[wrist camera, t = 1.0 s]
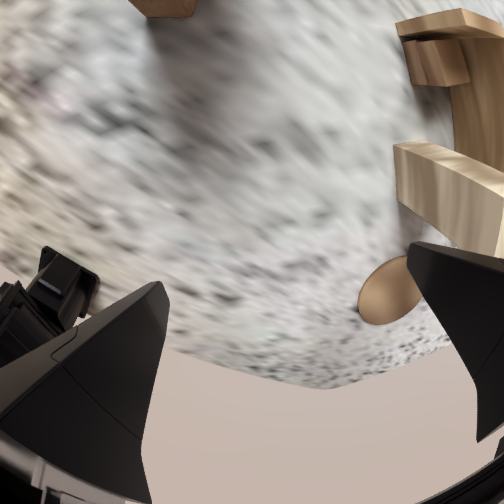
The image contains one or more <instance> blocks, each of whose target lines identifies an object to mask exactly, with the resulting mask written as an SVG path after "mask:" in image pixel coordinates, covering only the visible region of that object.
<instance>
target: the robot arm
mask: <svg viewBox="0 0 504 504" xmlns="http://www.w3.org/2000/svg"><path fill="white" fill-rule="evenodd" d="M46 251H47V252H46ZM406 265H407V269H408V271H409V272H410V274H411V276H412V278H413V279H414V281H415V283H416V285H417V287H418V289H419V290H420V292H421V294H422V296H423V297H424V299H425V300H426V302H427V303H428V305H429V306H430V308H431V309H432V311H433V312H434V314H435V315H436V317H437V319H438V320H439V322H440V323H441V325H442V326H443V328H444V330H445V331H446V333H447V335H448V336H449V338H450V340H451V341H452V343H453V344H454V346H455V348H456V350H457V351H458V353H459V355H460V357H461V359H462V360H463V362H464V364H465V366H466V367H467V369H468V371H469V373H470V375H471V377H472V379H474V380H473V381H474V383H475V386H476V389H477V435H476V440H477V443H479V442H480V441H482V440H483V439H485V438H486V437H488V436H489V435H491V434H492V433H494V432H495V431H497V430H498V429H499V428H501V427H502V426H504V259H503V258H497V257H492V256H488V255H483V254H479V253H474V252H470V251H465V250H460V249H455V248H451V247H446V246H441V245H436V244H431V243H425V242H412V243H411V244H410V245H409V250H408V255H407V261H406ZM92 278H93V279H92ZM97 280H98V277H97V275H96V274H94V273H92V272H91V271H89V270H87V269H85V268H84V267H82V266H80V265H78V264H77V263H75V262H73V261H71V260H70V259H68V258H66V257H65V256H63V255H61V254H60V253H58V252H56V251H55V250H53V249H51V248H50V247H48V246H45V247H44V248H43V249H42V251H41V257H40V263H39V269H38V274H37V275H36V277H35V278H34V279H33V281H32V282H31V283H30V284H29V286H28V287H27V288H26V290H25V289H24V288H23V287H22V284H21V283H20V281H19V280H18V281H17V282H16V283H15V284H14V285H13V284H9V283H7V282H4V283H3V284H2V286H1V287H0V504H125V500H127V501H131V502H136V503H141V504H152V500H151V496H150V492H149V488H148V484H147V480H146V476H145V472H144V467H143V463H142V457H141V444H142V438H143V433H144V428H145V423H146V418H147V413H148V408H149V404H150V399H151V395H152V390H153V386H154V382H155V377H156V373H157V369H158V365H159V361H160V357H161V352H162V348H163V345H164V341H165V337H166V330H167V322H168V315H169V308H170V302H169V298H168V296H167V293H166V291H165V288H164V286H163V284H162V282H160V281H155V282H150V283H148V284H146V285H145V286H143V287H141V288H139V289H138V290H136V291H134V292H133V293H131V294H129V295H127V296H126V297H124V298H122V299H121V300H119V301H117V302H115V303H114V304H112V305H110V306H109V307H107V308H105V309H104V310H102V311H100V312H99V313H97V314H95V315H94V316H92V317H90V318H89V319H87V320H85V321H84V322H82V323H80V324H79V325H78V326H77V325H76V326H75V327H73V325H74V323H75V321H76V319H77V317H80V318H85V316H86V313H87V310H88V307H89V304H90V301H91V298H92V295H93V292H94V289H95V286H96V283H97ZM72 327H73V328H72ZM416 504H504V436H503V437H502V438H501V439H500V441H499V444H498V448H497V451H496V454H495V457H494V460H492V461H491V462H489V463H488V464H487V465H485V466H484V467H482V468H481V469H479V470H478V471H476V472H475V473H473V474H471V475H470V476H468V477H466V478H465V479H463V480H461V481H460V482H458V483H456V484H454V485H453V486H451V487H449V488H447V489H445V490H443V491H441V492H439V493H437V494H435V495H433V496H431V497H429V498H427V499H425V500H423V501H420V502H419V503H416Z"/></svg>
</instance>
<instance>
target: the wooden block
mask: <svg viewBox="0 0 504 504" xmlns="http://www.w3.org/2000/svg"><path fill="white" fill-rule="evenodd" d="M128 1H129V2H131V3H132V4H133V5H134V6H135V7H136V8H137V9H138V10H139V11H140V12H141V13H142V14H143V15H144V16H146V17H191V16H192V15H193V13H194V9H195V6H196V2H197V0H128Z"/></svg>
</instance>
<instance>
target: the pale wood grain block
mask: <svg viewBox="0 0 504 504" xmlns="http://www.w3.org/2000/svg"><path fill="white" fill-rule="evenodd" d="M393 149H394V159H395V171H396V187H397V200H399V201H400V202H401V203H403V204H404V205H406V206H407V207H408V208H410V209H411V210H412V211H414V212H415V213H416V214H418V215H419V216H420V217H422V218H423V219H424V220H425V221H427V222H428V223H429V224H431V225H432V226H433V227H434V228H436V229H437V230H438V231H439V232H441V233H442V234H443V235H444V236H445V237H447V238H448V239H449V240H450V241H451V242H453V243H454V244H455V245H456V246H457V247H458V248H459V249H461V250H465V251H470V252H474V253H479V254H483V255H488V256H492V257H497V258H503V259H504V173H502V172H500V171H498V170H496V169H494V168H492V167H490V166H488V165H486V164H483V163H481V162H479V161H477V160H474V159H472V158H470V157H467V156H465V155H462V154H460V153H457V152H455V151H452V150H450V149H447V148H444V147H442V146H439V145H436V144H433V143H430V142H427V141H424V140H422V141H416V142H409V143H402V144H396V145H393Z"/></svg>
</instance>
